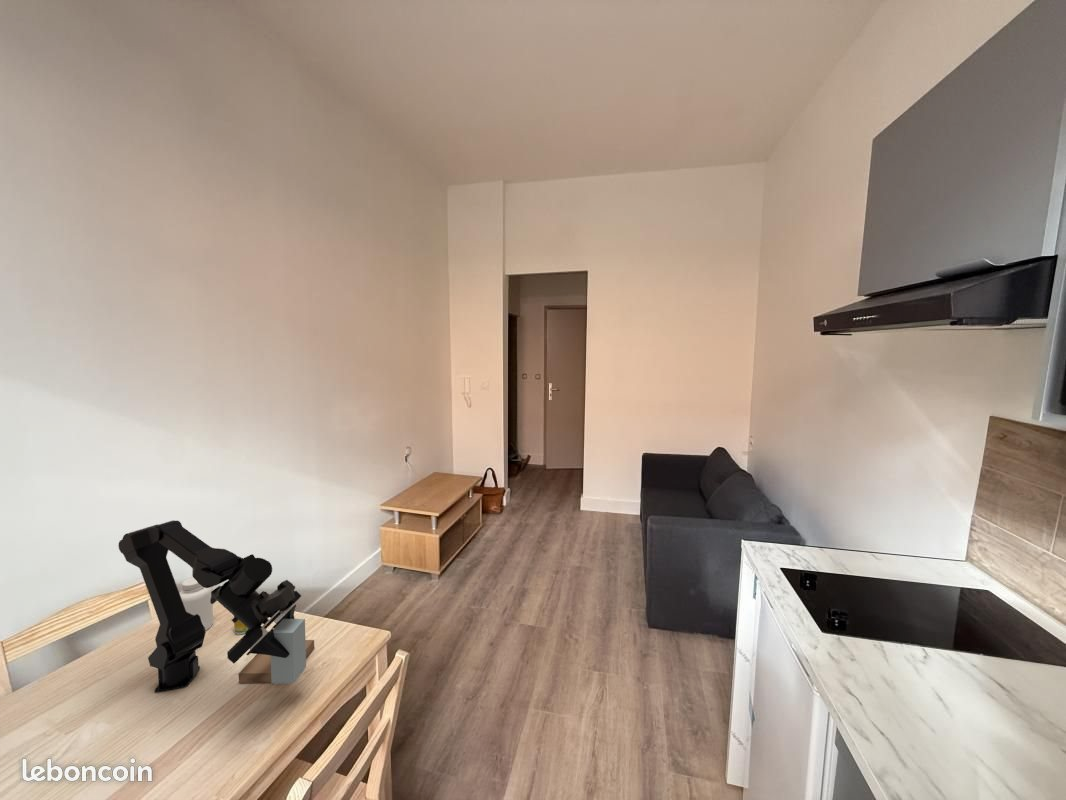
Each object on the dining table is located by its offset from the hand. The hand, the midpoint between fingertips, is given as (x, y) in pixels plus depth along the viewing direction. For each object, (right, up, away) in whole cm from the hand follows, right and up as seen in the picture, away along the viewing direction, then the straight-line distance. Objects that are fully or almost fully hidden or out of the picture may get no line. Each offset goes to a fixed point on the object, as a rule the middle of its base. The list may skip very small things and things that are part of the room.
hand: (294, 647), depth 91 cm
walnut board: (-11, -12, +11) cm, 20 cm away
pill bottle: (-45, -11, +25) cm, 52 cm away
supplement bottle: (-30, -11, +25) cm, 41 cm away
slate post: (-1, -7, 0) cm, 7 cm away
